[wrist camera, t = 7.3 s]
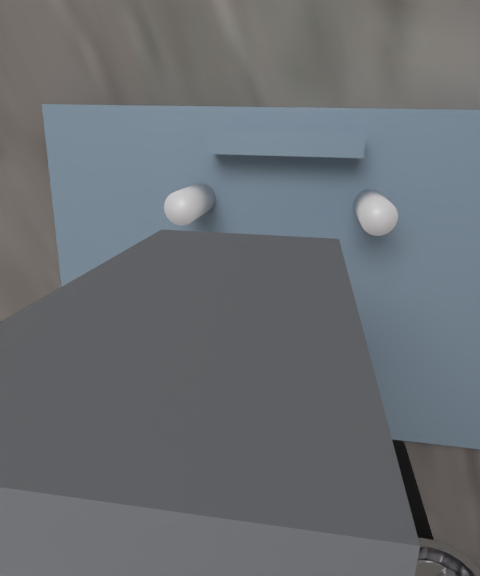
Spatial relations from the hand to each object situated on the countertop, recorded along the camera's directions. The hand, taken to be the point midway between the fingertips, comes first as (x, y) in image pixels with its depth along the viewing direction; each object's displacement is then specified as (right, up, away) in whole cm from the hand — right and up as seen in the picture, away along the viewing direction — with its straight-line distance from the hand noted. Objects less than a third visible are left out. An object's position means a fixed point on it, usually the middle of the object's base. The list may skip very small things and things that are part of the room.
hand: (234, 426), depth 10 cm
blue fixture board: (+2, +4, +10) cm, 11 cm away
